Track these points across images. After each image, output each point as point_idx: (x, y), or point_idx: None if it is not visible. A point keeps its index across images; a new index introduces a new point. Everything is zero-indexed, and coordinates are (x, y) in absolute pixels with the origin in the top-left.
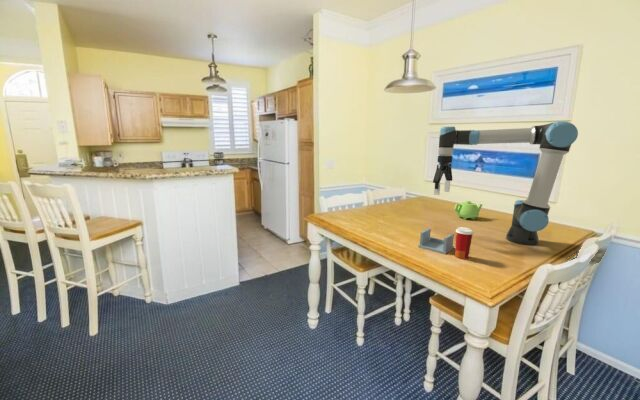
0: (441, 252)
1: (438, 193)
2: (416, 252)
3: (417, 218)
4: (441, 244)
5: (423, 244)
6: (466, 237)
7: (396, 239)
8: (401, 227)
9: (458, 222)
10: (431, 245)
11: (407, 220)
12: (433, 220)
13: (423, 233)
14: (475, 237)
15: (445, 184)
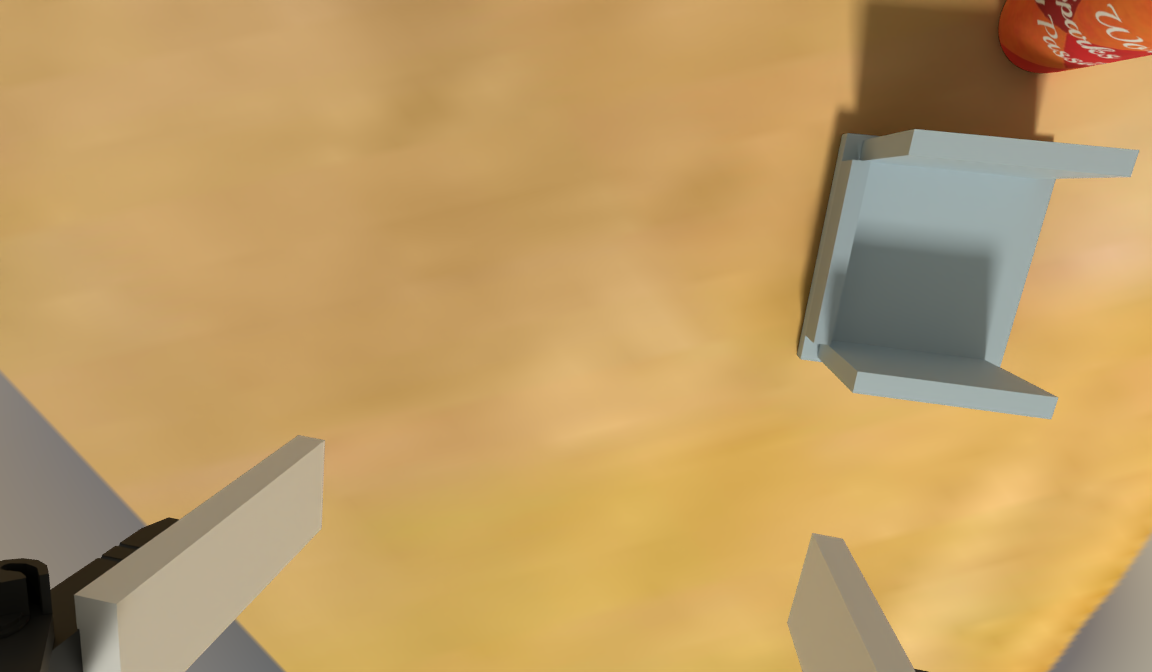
0: (1047, 187)
1: (854, 568)
2: (1122, 357)
3: None
4: (861, 233)
5: (953, 356)
6: None
7: (882, 562)
8: (550, 613)
9: (75, 269)
10: (936, 296)
11: (329, 626)
12: (176, 460)
13: (1037, 392)
14: (421, 38)
15: (214, 621)
